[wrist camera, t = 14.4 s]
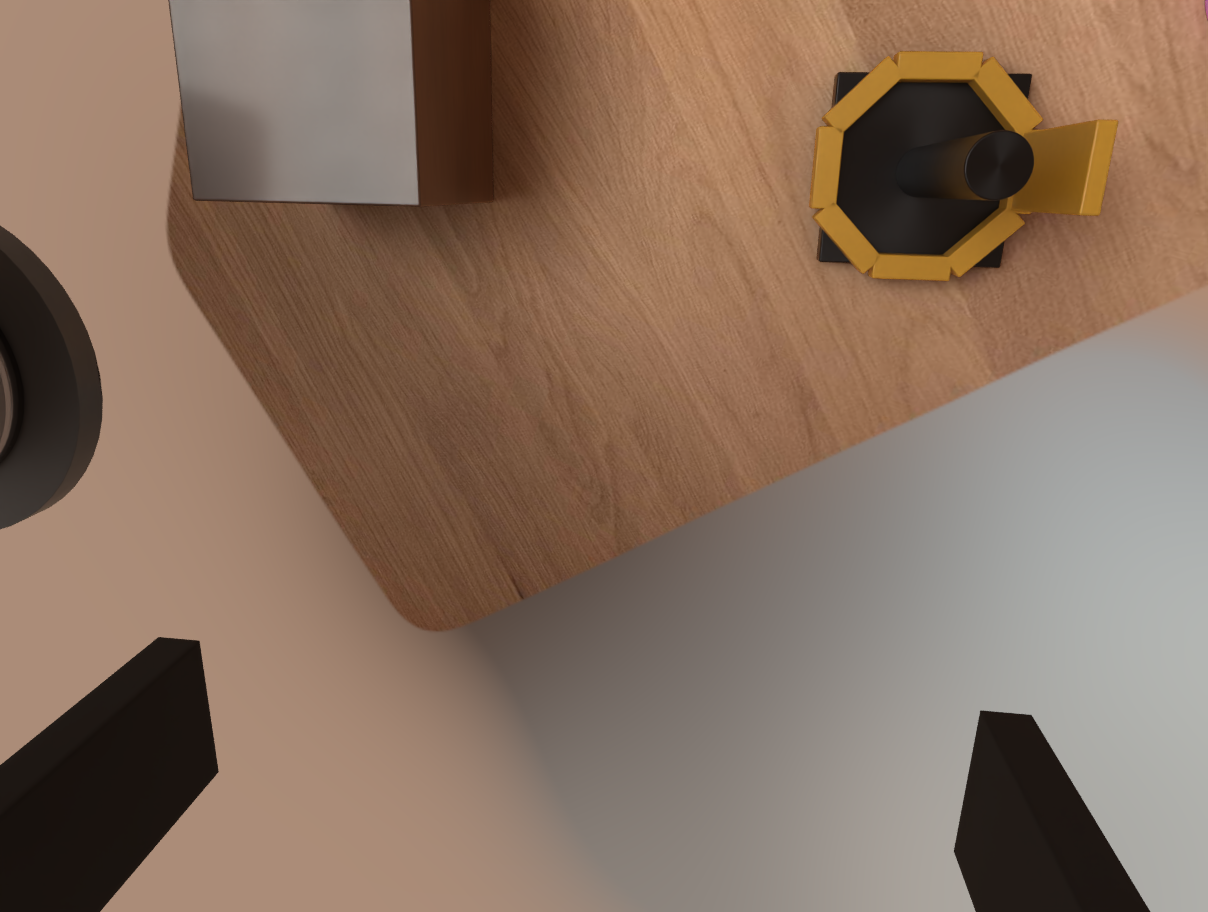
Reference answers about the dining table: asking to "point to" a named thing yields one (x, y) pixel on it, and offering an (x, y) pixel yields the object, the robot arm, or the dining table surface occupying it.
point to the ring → (1057, 185)
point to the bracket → (1206, 7)
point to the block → (336, 100)
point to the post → (925, 167)
